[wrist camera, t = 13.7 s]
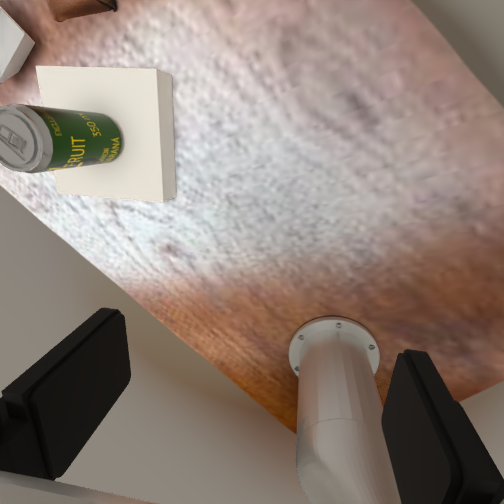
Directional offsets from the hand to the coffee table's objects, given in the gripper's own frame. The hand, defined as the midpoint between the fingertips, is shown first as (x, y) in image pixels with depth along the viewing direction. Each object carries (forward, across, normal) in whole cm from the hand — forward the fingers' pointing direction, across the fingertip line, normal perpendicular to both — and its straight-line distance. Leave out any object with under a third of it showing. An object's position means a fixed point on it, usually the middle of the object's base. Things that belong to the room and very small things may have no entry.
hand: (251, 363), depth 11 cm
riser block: (+30, +22, -6) cm, 38 cm away
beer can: (+26, +22, -6) cm, 35 cm away
